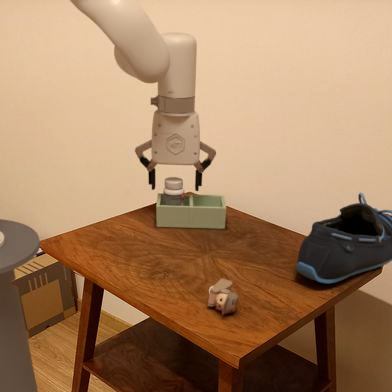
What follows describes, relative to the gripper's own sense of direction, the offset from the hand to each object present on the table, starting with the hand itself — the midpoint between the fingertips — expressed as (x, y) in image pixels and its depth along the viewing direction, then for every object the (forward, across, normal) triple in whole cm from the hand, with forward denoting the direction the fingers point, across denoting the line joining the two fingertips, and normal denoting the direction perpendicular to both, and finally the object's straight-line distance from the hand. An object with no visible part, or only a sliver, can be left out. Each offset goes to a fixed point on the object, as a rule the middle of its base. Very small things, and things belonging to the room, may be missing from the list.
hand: (175, 188), depth 114 cm
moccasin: (+7, +36, -18) cm, 41 cm away
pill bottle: (+7, 0, 0) cm, 7 cm away
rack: (+7, +4, 0) cm, 8 cm away
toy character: (+5, +6, -36) cm, 37 cm away
